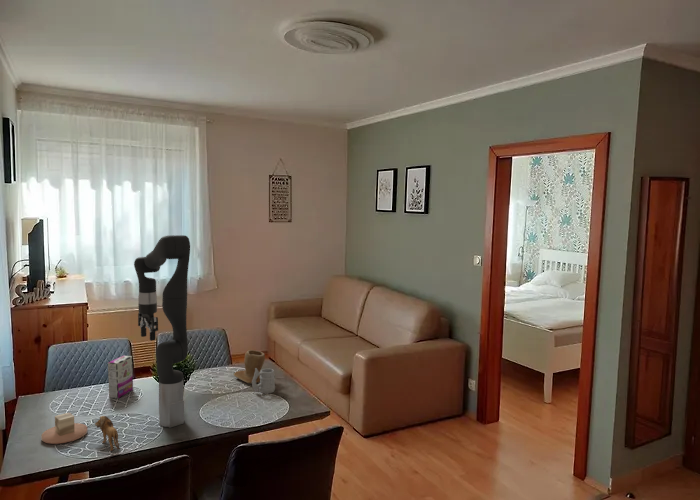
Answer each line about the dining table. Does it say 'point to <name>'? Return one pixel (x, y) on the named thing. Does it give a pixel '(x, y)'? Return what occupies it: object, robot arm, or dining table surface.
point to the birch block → (64, 424)
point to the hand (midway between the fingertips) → (148, 338)
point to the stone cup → (251, 366)
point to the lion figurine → (108, 431)
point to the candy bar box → (120, 376)
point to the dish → (54, 438)
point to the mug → (264, 380)
